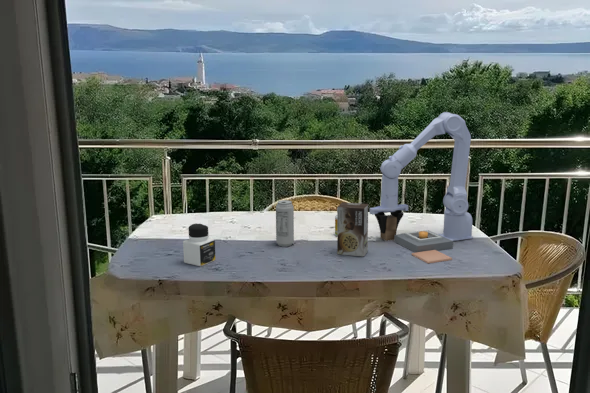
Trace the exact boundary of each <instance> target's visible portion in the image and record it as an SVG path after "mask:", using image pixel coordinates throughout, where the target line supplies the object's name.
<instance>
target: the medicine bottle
mask: <svg viewBox="0 0 590 393" xmlns="http://www.w3.org/2000/svg"><path fill="white" fill-rule="evenodd" d="M209 236H210V234H209V225H208V224H206V223H203V222H202V223H201V222H200V223H198V222H197V223H193V224H190V225H189V226H188V239H186V240H182V250H183V263H184V264H189V265H193V266H197V267H203V266H205V265H208V264H210V263H213V262H215V261H216V239H215V238H211V237H209Z"/></svg>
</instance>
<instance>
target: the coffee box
mask: <svg viewBox="0 0 590 393" xmlns="http://www.w3.org/2000/svg"><path fill="white" fill-rule="evenodd" d="M336 215H337V236H336V237H337V239H336V241H337V242H336V243H337V244H336V245H337V249H336V250H337V251H336V252H337V253H336V254H337V255H341V256H342V255H343V256H352V257H354V256H355V257H365V256H366V255H367V253H368V251H369V249H368V248H369V247H368V246H369V243H368V242H369V203H358V202H357V203H356V202H341V203H340V204H339V205H338V206H337V209H336Z"/></svg>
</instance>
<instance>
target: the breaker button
mask: <svg viewBox="0 0 590 393" xmlns="http://www.w3.org/2000/svg"><path fill="white" fill-rule="evenodd" d="M418 231H419V239H425V238H428V232H426V231H424V230H418Z"/></svg>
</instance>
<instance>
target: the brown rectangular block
mask: <svg viewBox="0 0 590 393" xmlns="http://www.w3.org/2000/svg"><path fill="white" fill-rule="evenodd" d="M387 216H388V217H387V220H386V229H385V233H384V234H383V233H381V232H379V234H380V235H379V237H380V239H382V240H383V241H386V242H387V241H388V240H389V241H394V235H397V231H396V226H397V217H394V216H392V215H391V214H387Z"/></svg>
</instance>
